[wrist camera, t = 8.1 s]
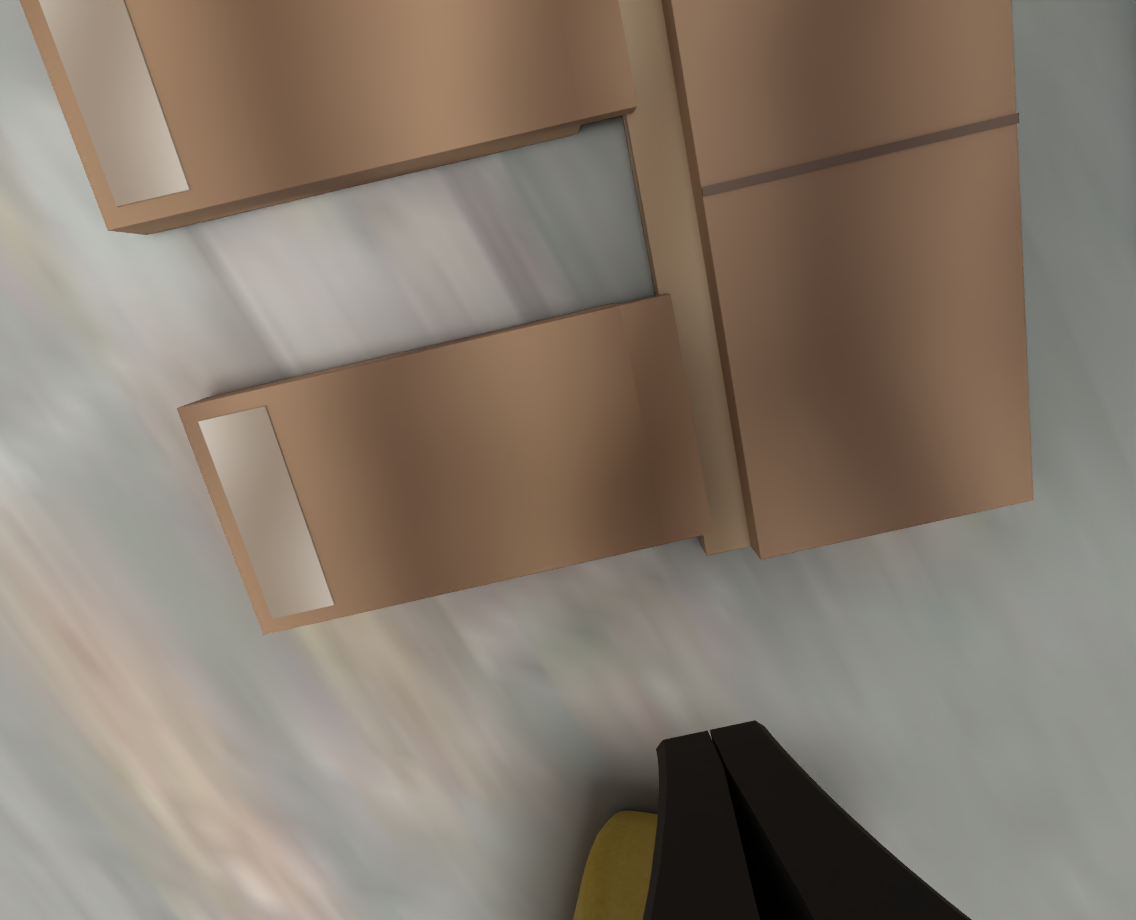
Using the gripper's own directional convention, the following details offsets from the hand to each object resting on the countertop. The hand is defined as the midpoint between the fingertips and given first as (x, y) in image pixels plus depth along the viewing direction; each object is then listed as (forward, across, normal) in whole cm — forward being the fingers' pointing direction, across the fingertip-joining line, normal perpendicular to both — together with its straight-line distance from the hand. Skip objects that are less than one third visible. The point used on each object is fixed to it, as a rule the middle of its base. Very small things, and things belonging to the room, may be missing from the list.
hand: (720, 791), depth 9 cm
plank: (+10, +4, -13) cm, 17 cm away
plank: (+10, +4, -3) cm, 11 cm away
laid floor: (+10, -6, -8) cm, 14 cm away
